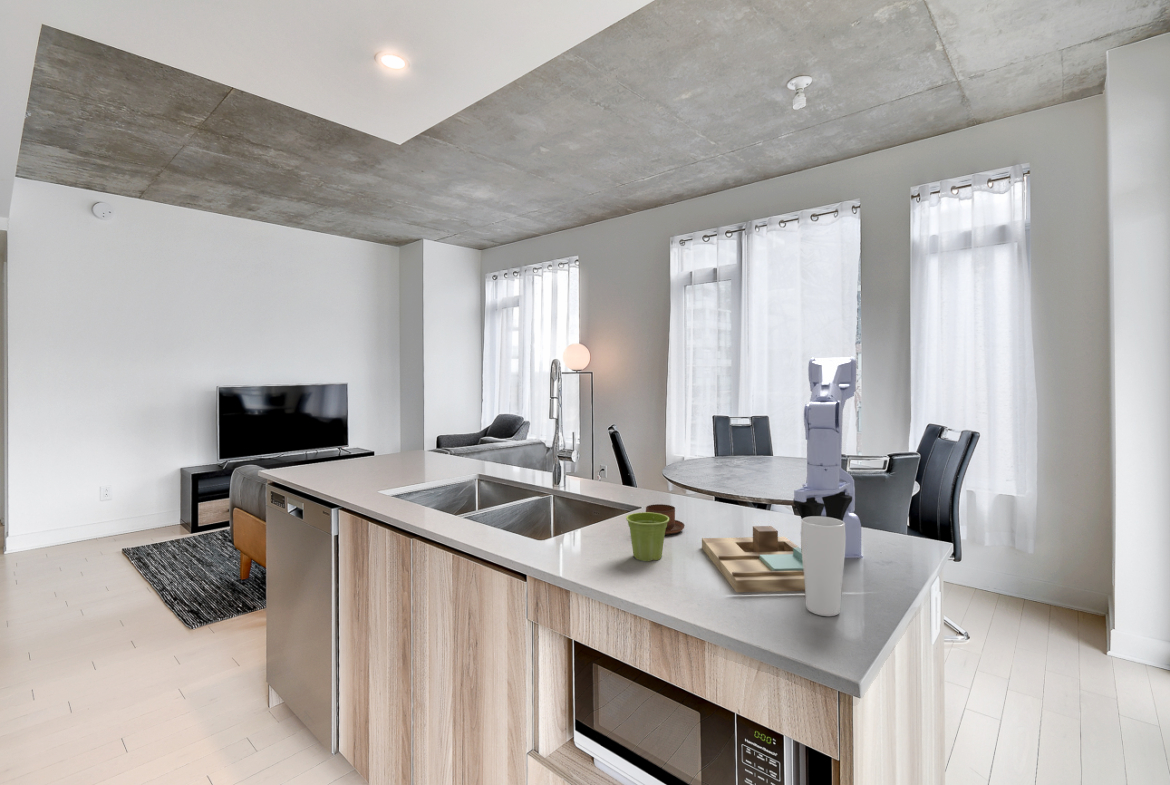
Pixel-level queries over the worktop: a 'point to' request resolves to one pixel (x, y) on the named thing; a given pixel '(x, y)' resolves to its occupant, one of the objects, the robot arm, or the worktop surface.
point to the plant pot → (647, 534)
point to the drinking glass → (823, 563)
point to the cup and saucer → (669, 511)
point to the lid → (784, 561)
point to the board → (751, 565)
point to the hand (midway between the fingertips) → (822, 534)
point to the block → (765, 539)
